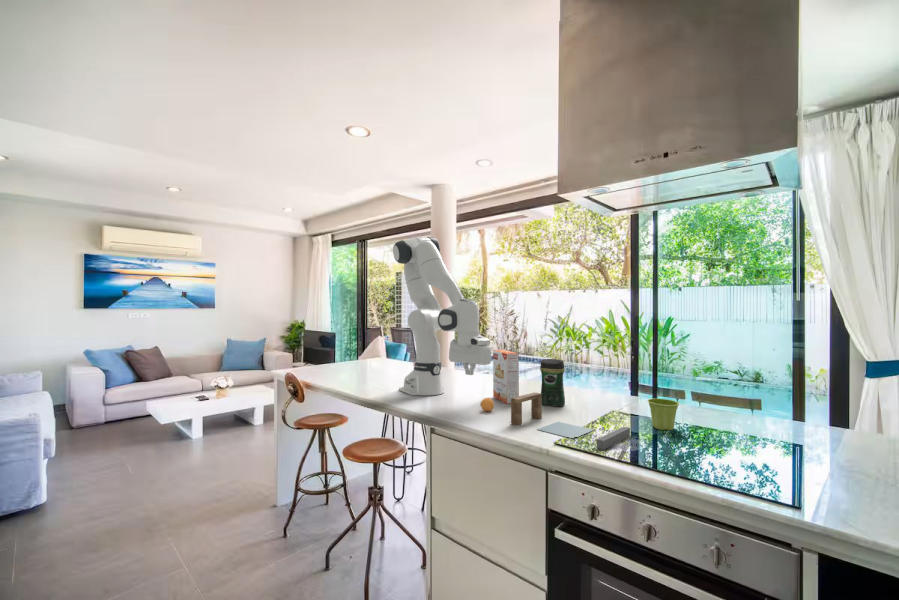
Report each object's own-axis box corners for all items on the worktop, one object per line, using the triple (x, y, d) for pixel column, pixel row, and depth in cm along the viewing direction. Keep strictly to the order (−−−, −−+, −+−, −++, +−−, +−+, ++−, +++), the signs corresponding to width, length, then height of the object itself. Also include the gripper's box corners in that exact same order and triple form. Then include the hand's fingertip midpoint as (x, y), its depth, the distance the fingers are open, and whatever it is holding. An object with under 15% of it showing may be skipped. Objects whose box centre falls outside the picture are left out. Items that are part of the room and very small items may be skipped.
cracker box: (492, 397, 181) (492, 349, 182) (504, 396, 183) (504, 349, 183) (505, 404, 168) (506, 353, 168) (519, 403, 170) (519, 352, 170)
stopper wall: (596, 448, 116) (596, 439, 116) (623, 434, 128) (623, 426, 128) (603, 449, 114) (603, 440, 114) (630, 436, 127) (630, 427, 127)
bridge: (511, 423, 140) (511, 398, 140) (534, 416, 149) (534, 392, 150) (518, 425, 138) (518, 399, 138) (541, 417, 147) (541, 393, 147)
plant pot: (684, 428, 135) (684, 402, 135) (671, 434, 129) (671, 406, 129) (655, 422, 142) (655, 397, 143) (642, 427, 137) (642, 401, 137)
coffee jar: (566, 403, 169) (566, 358, 170) (562, 408, 162) (562, 360, 163) (543, 401, 174) (543, 357, 174) (538, 405, 167) (538, 359, 167)
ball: (478, 411, 156) (478, 398, 156) (486, 409, 160) (486, 396, 160) (488, 413, 153) (488, 400, 153) (496, 411, 156) (496, 398, 156)
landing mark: (536, 429, 133) (536, 429, 133) (558, 422, 142) (558, 421, 142) (573, 439, 124) (573, 438, 124) (593, 430, 133) (593, 429, 133)
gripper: (444, 339, 169) (445, 373, 169) (482, 341, 154) (483, 378, 154) (455, 338, 173) (456, 371, 173) (493, 340, 159) (494, 376, 158)
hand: (469, 374), depth 163 cm, fingers closed
